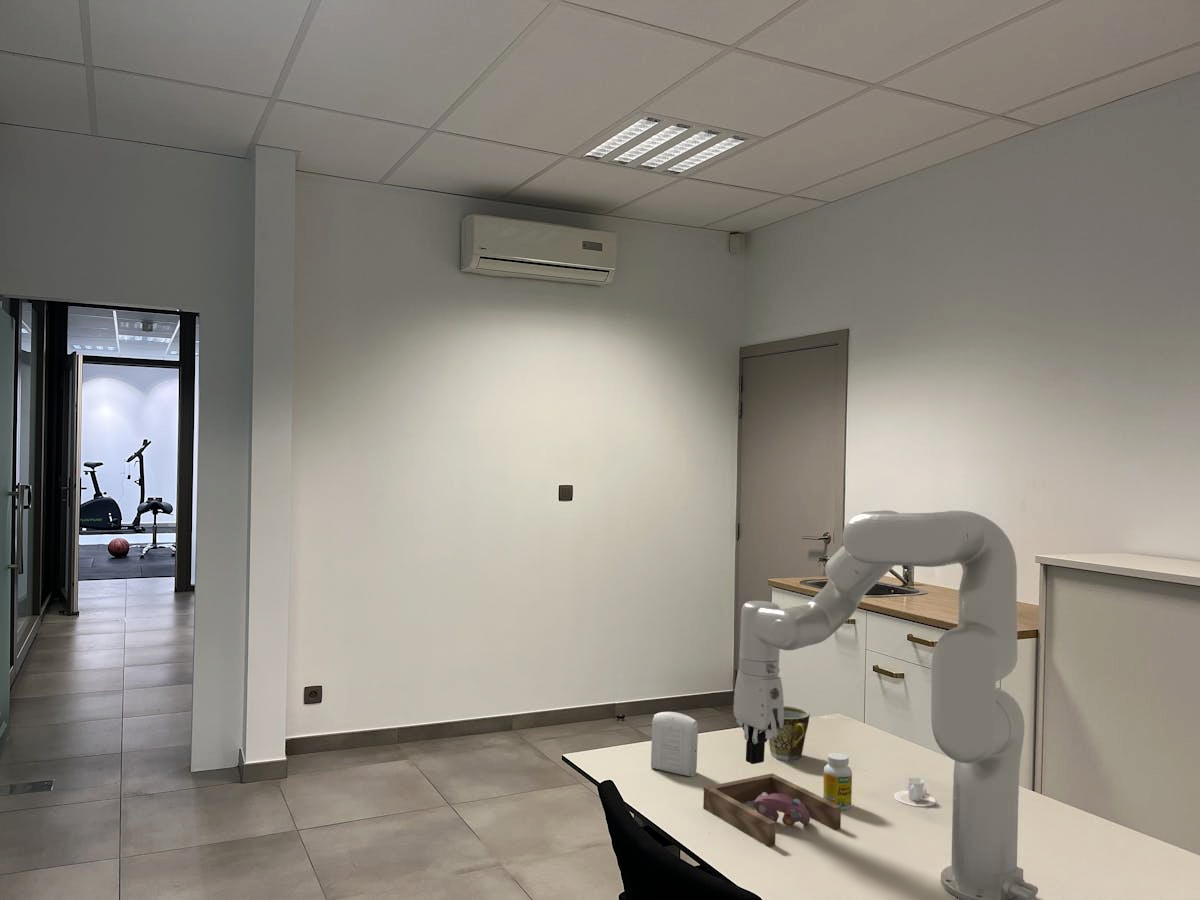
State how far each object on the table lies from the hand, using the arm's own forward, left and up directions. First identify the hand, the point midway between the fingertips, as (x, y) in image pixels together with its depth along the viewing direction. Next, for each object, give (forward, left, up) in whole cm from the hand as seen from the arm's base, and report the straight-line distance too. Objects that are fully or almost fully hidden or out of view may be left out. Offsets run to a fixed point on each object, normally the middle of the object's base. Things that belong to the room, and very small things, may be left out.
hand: (754, 761), depth 172 cm
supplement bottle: (-6, -16, -9) cm, 19 cm away
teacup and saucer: (-12, -35, -10) cm, 38 cm away
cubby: (-5, 0, -9) cm, 10 cm away
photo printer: (+24, +2, -9) cm, 26 cm away
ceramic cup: (+19, -26, -9) cm, 34 cm away
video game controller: (-7, -1, -10) cm, 12 cm away
